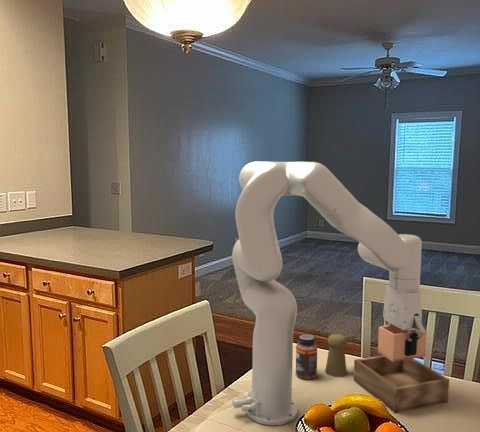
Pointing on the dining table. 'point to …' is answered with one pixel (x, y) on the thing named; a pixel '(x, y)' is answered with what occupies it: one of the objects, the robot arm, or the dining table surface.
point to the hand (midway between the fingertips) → (401, 349)
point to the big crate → (401, 383)
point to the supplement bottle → (306, 357)
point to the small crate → (398, 343)
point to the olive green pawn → (336, 356)
